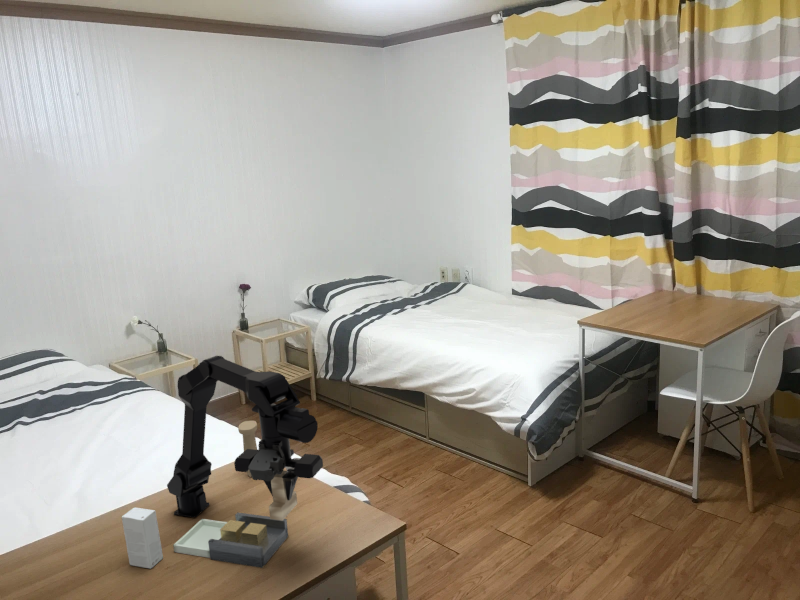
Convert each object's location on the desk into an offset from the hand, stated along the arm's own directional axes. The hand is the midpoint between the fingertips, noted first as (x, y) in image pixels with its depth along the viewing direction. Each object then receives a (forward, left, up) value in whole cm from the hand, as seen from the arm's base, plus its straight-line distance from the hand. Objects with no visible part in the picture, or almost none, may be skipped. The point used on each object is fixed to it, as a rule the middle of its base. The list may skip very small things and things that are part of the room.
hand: (282, 498), depth 139 cm
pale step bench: (0, 0, -3) cm, 3 cm away
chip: (-8, 0, -11) cm, 13 cm away
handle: (-27, +31, -14) cm, 43 cm away
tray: (-21, 0, -13) cm, 25 cm away
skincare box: (-30, -10, -14) cm, 34 cm away
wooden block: (-13, 0, -11) cm, 17 cm away
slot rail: (-9, 0, -13) cm, 16 cm away
